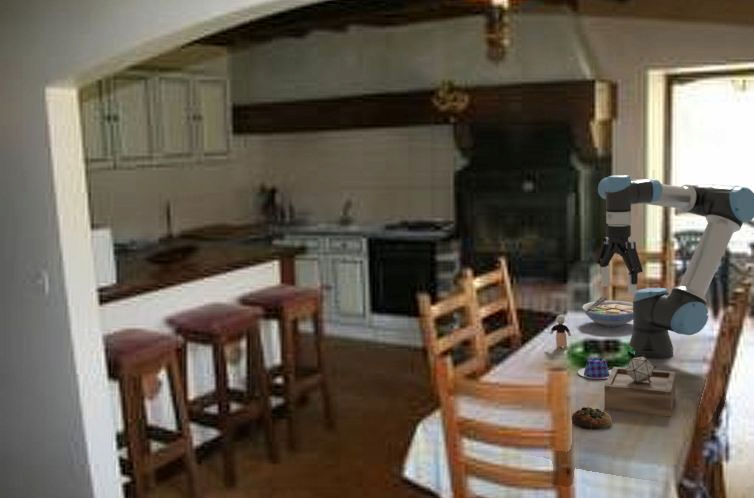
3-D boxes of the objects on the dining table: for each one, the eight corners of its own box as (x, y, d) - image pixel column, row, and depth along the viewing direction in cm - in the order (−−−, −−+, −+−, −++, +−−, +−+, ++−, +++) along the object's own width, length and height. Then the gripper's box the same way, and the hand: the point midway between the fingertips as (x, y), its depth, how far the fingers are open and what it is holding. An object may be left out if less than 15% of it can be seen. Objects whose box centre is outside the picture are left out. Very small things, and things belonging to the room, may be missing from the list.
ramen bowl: (631, 335, 297) (631, 314, 296) (573, 329, 309) (573, 309, 308) (648, 320, 317) (648, 300, 316) (593, 314, 330) (593, 296, 329)
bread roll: (567, 427, 214) (568, 409, 213) (575, 418, 224) (576, 401, 223) (609, 433, 209) (610, 415, 209) (614, 424, 219) (615, 406, 219)
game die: (646, 395, 228) (660, 375, 221) (618, 385, 229) (630, 365, 222) (648, 373, 234) (662, 353, 227) (621, 363, 235) (633, 342, 228)
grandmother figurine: (571, 347, 286) (571, 314, 284) (571, 350, 283) (570, 316, 280) (550, 346, 289) (550, 313, 287) (549, 349, 285) (549, 315, 283)
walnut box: (613, 388, 241) (613, 366, 240) (675, 394, 234) (675, 371, 232) (604, 409, 225) (604, 385, 224) (670, 416, 217) (670, 391, 216)
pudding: (609, 368, 262) (609, 353, 261) (620, 379, 250) (620, 364, 249) (573, 370, 262) (573, 355, 261) (583, 381, 250) (583, 366, 249)
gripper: (584, 221, 255) (585, 284, 258) (634, 230, 232) (634, 299, 235) (604, 219, 257) (604, 281, 261) (654, 227, 234) (654, 295, 238)
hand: (618, 290), depth 248 cm, fingers open, 13 cm apart
